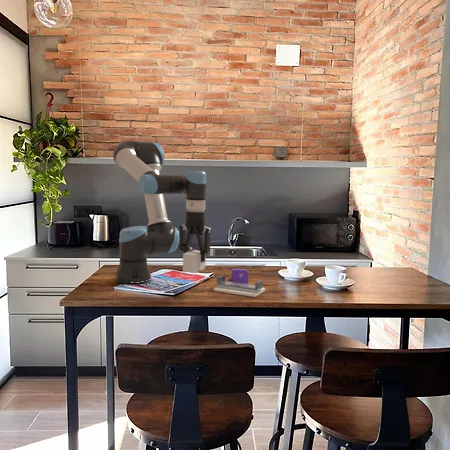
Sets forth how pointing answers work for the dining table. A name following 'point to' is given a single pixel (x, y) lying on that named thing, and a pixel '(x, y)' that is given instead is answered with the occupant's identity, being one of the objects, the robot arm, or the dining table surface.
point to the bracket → (239, 276)
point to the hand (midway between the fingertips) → (194, 268)
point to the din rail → (239, 285)
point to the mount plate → (239, 291)
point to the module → (191, 261)
